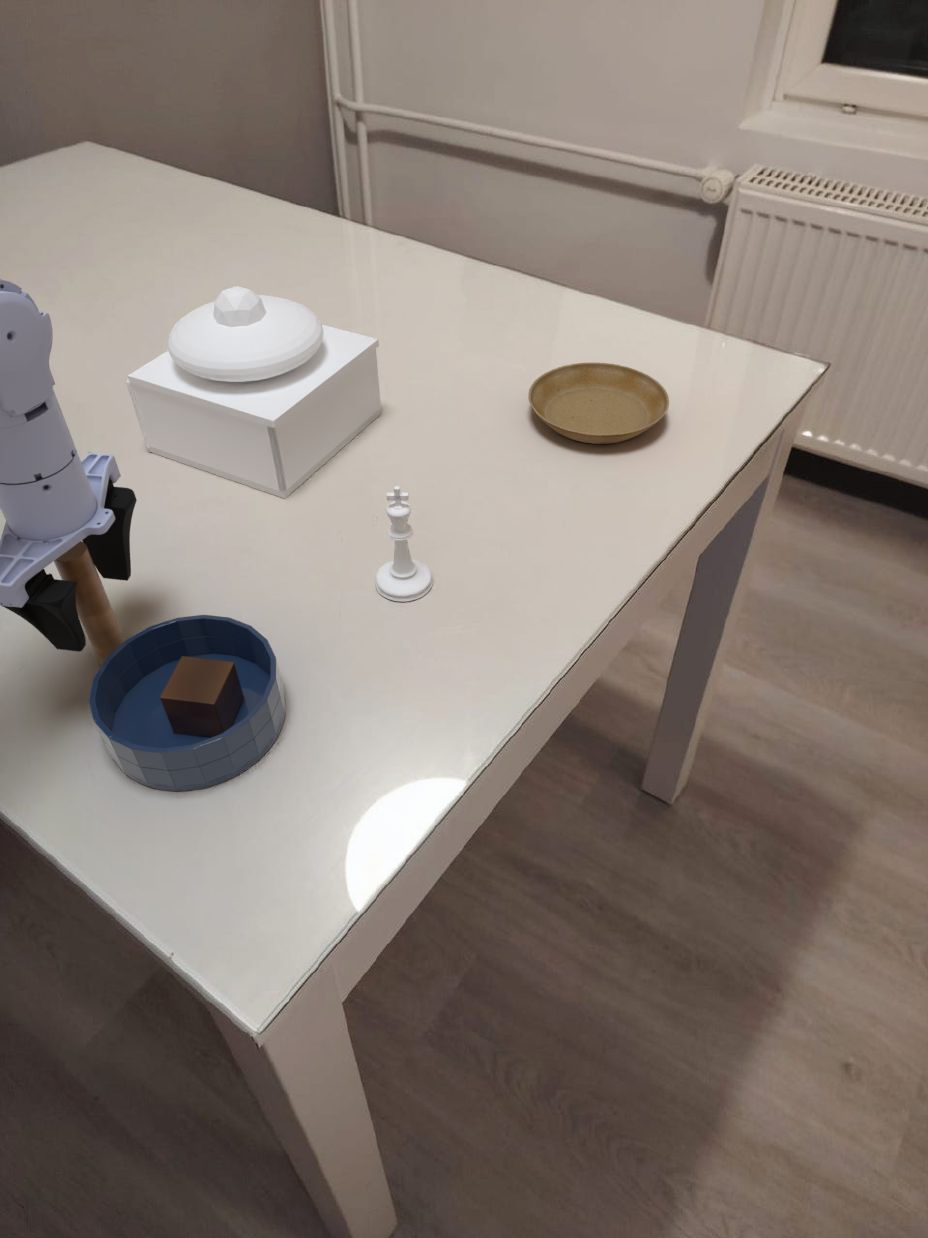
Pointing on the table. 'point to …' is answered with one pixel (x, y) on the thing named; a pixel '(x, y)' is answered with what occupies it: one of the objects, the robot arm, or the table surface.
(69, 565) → the rod
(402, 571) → the chess piece
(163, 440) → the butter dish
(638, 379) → the plant saucer
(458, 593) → the table surface
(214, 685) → the block
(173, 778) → the bowl
